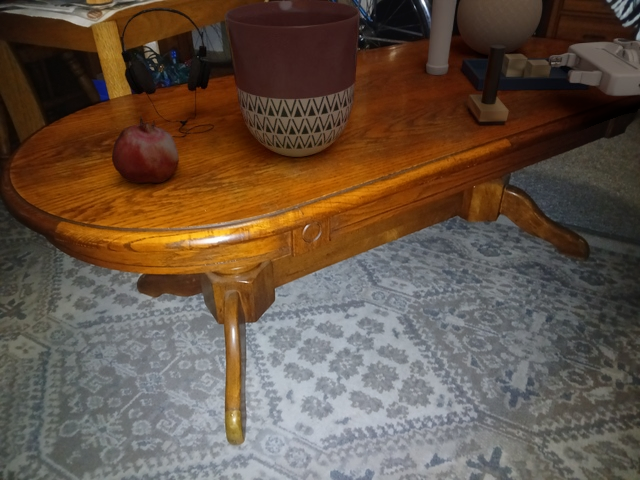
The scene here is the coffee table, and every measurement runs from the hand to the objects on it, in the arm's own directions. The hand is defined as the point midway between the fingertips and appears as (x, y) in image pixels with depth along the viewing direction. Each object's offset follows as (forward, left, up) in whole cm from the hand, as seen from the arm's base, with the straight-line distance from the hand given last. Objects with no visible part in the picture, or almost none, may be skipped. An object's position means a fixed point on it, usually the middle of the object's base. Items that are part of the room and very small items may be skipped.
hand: (559, 68), depth 91 cm
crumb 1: (-1, -26, -9) cm, 27 cm away
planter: (+46, +13, -9) cm, 49 cm away
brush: (+11, -1, -9) cm, 14 cm away
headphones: (+69, +2, -9) cm, 70 cm away
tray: (-3, -24, -9) cm, 26 cm away
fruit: (+68, +23, -9) cm, 73 cm away
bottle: (+15, -30, -9) cm, 35 cm away
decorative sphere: (-2, -45, -9) cm, 46 cm away
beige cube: (-5, -21, -9) cm, 23 cm away
